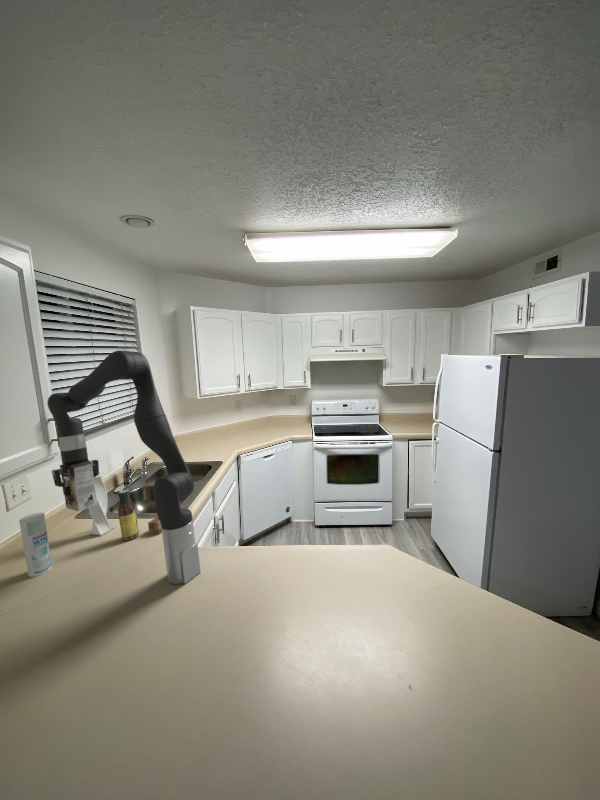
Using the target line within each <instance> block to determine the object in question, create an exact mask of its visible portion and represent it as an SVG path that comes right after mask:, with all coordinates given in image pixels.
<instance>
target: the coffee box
mask: <svg viewBox="0 0 600 800" xmlns="http://www.w3.org/2000/svg"><path fill="white" fill-rule="evenodd" d="M60 468H62V464H59V469H60ZM67 469H68V473H65V472H63V471H62V472H61V475H60V477H61V481H62V482H63V480H64V476H65V477H68V476H69V478H70V480H69V486H70V493H71V496H70V497H66V496H65V495H64V494H63V496H64V501H65V508H66V509H69V510H73V511H76V512H81V511H84V510H86V509H89V507H92V506H94V505H97V499H96V492H95V484H94V476H93V469H92V462H83V463H77V464H73V465H69V466H67Z"/></svg>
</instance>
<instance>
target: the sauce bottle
mask: <svg viewBox="0 0 600 800" xmlns="http://www.w3.org/2000/svg"><path fill="white" fill-rule="evenodd" d="M130 494H131V492H130V489H123V490H120V491H119V492H118V494H117V496H118V497H119V506H118V508H117V512H118V521H119V526H120V531H121V532H120V533H121V537H122V540H123V541H127V542H128V541H132V540H134V539H135V538H137V537H139V535H140V534H139V531H140V528H139V525H138V517H137V511H136V509H137V508H136V506H135V505H134V503H133V501H132V499H131V495H130Z"/></svg>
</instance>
